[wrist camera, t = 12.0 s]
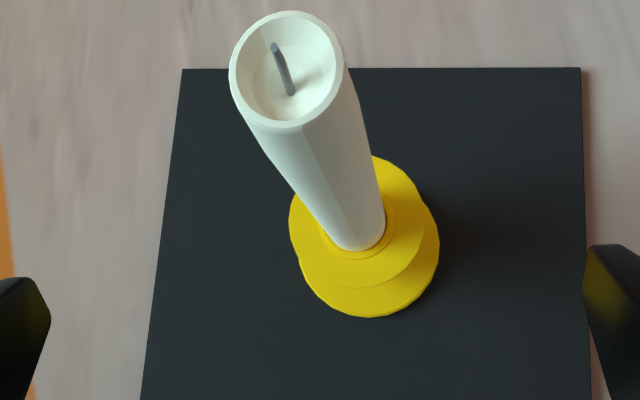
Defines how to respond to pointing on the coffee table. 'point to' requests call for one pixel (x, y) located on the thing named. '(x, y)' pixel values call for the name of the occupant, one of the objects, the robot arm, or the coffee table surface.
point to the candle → (332, 169)
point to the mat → (450, 274)
